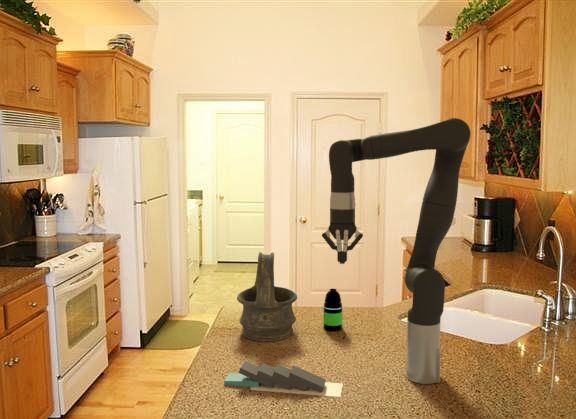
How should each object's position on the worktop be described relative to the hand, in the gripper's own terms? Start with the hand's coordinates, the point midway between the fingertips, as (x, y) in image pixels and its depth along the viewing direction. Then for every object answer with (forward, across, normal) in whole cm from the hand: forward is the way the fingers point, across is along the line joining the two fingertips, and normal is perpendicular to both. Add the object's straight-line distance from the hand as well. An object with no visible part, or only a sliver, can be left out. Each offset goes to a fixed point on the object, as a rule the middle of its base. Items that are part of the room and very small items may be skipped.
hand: (342, 263), depth 157 cm
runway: (+32, -11, -19) cm, 39 cm away
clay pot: (+32, -29, +23) cm, 49 cm away
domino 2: (+30, -18, -19) cm, 40 cm away
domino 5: (+31, -4, -19) cm, 36 cm away
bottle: (+32, -6, +31) cm, 45 cm away
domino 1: (+30, -22, -19) cm, 42 cm away
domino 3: (+31, -12, -19) cm, 38 cm away
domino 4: (+31, -8, -19) cm, 37 cm away
